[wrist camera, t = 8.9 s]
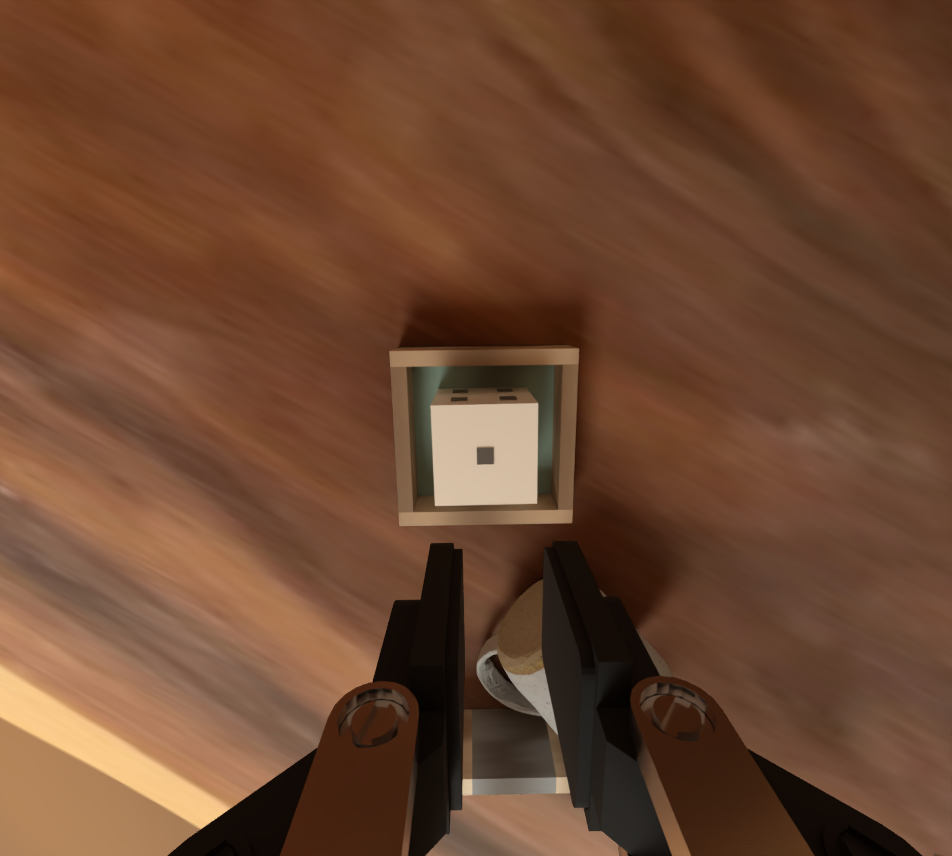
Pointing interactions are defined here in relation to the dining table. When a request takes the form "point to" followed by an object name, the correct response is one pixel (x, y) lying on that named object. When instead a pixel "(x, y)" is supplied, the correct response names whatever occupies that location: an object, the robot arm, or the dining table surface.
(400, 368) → the felt tray
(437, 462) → the die
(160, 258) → the dining table surface
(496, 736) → the scoring rail
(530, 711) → the ceramic mug
